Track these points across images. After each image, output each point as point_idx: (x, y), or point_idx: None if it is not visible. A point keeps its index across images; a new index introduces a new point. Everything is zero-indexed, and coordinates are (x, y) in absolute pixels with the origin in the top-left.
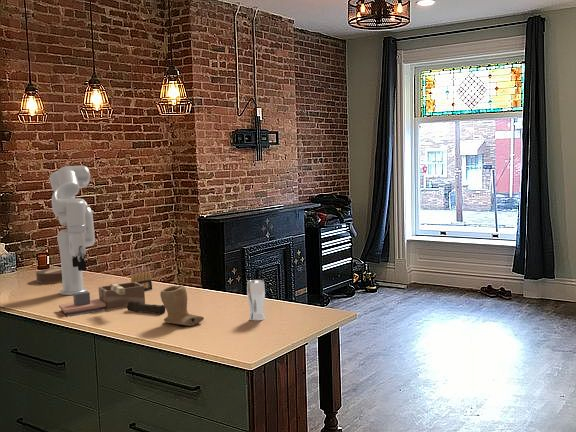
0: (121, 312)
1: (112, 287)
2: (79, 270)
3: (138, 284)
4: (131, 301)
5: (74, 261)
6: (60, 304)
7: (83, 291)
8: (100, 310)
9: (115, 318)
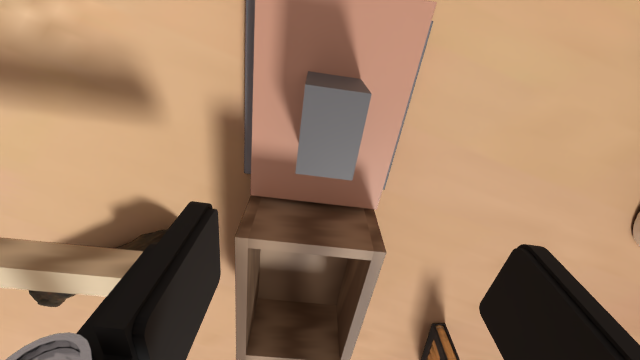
0: (166, 202)
1: (122, 264)
2: (193, 210)
3: (281, 358)
4: None
5: (564, 330)
6: (432, 13)
7: (637, 234)
8: (245, 157)
9: (69, 149)
